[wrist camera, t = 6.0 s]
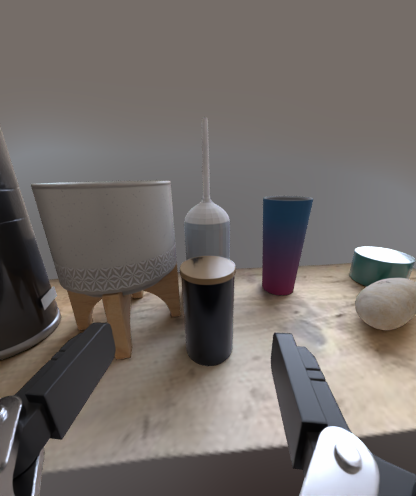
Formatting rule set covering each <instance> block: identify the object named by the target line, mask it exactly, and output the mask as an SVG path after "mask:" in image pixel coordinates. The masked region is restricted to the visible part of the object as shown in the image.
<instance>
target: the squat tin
mask: <svg viewBox="0 0 416 496" xmlns="http://www.w3.org/2000/svg"><path fill="white" fill-rule="evenodd" d="M414 263H415V259H414V258H413V257H412V256H410V255H408V254H405V253H402V252H399V251H396V250H391V249H385V248H379V247H359V248H356V249H355V252H354V256H353V260H352V264H351V268H350V273H349V276H350V277H351V278H352V279H353V280H354V281H356V282H358V283H360V284H362V285H364V286H369V285H371V284H373V283H375V282H377V281H380V280H383V279H388V278H405V279H409V277H410V274H411V272H412V269H413V266H414Z"/></svg>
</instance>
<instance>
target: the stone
mask: <svg viewBox="0 0 416 496" xmlns="http://www.w3.org/2000/svg"><path fill="white" fill-rule="evenodd" d="M355 308H356V311H357V313H358V315H359V317H360V318H361V319H362V320H363V321H364V322H365V323H366V324H368V325H370V326H372V327H374V328H376V329H380V330H392V329H396V328H399V327H401V326H403V325H404V324H406V323H407V322H408V321H409V320H410V319H411V318H412V317H413V316H414V315H415V314H416V282H414V281H412V280H409V279H405V278H388V279H383V280H380V281H377V282H375V283H373V284H371V285H369V286H367V287H366V288H364V289H363V290H362V291H361V292H360V293H359V294H358V296H357V298H356V301H355Z"/></svg>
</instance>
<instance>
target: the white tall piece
mask: <svg viewBox="0 0 416 496" xmlns="http://www.w3.org/2000/svg"><path fill="white" fill-rule="evenodd" d="M202 153H203V154H202V157H203V163H202V165H203V166H202V172H203V198H202V201H201V203H199V204H198V205H196V206H195V207H193V208H192V209H191V210H190V211H189V212H188V214H187V215H186V218H185V225H184V226H185V227H184V228H185V244H186V260H188V259H190V258H194V257H199V256H219V257H224V258H227V259H229V252H230V250H229V249H230V247H229V246H230V222H229V217H228V215H227V213H226V212H225V211H224V210H223V209H222V208H221V207H220V206H218V205H216V204H214V203H213V202H212V201H211V198H210V189H209V188H210V187H209V148H208V118H206V117H204V118H202Z"/></svg>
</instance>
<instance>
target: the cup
mask: <svg viewBox="0 0 416 496" xmlns="http://www.w3.org/2000/svg"><path fill="white" fill-rule="evenodd" d="M312 202H313V198H309V197H300V196H269V197H264V198H263V272H262V287H263V289H264V290H265V291H267V292H269V293H271V294H274V295H289V294H291V293H292V292H293V289H294V284H295V280H296V275H297V270H298V266H299V261H300V257H301V252H302V248H303V243H304V239H305V234H306V229H307V225H308V220H309V215H310V211H311V207H312Z"/></svg>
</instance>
